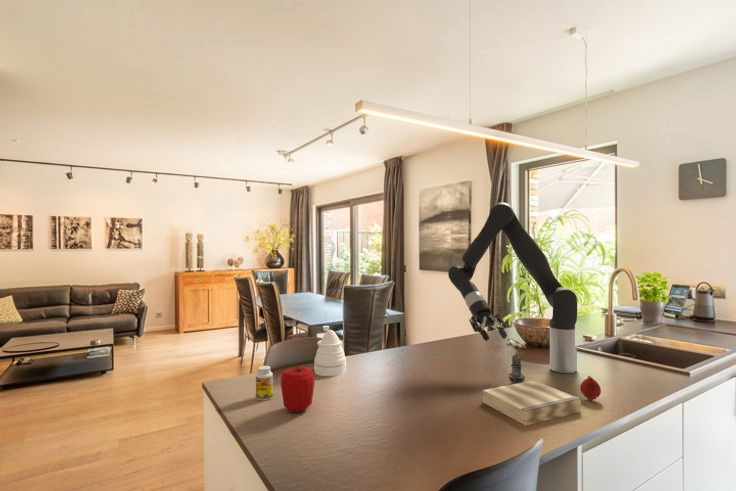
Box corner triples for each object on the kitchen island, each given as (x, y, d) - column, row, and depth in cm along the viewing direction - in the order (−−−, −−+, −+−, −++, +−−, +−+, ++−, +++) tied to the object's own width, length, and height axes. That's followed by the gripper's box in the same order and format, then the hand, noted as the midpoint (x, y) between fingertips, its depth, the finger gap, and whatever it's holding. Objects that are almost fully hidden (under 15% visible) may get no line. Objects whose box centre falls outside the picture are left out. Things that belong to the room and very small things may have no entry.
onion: (598, 398, 130) (598, 374, 130) (602, 404, 125) (602, 379, 125) (578, 396, 132) (578, 372, 132) (582, 402, 127) (582, 377, 127)
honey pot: (308, 374, 157) (308, 328, 157) (323, 364, 169) (323, 322, 169) (337, 377, 152) (337, 331, 152) (351, 368, 164) (351, 324, 164)
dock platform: (533, 391, 136) (533, 379, 136) (580, 412, 120) (580, 398, 120) (482, 402, 127) (482, 389, 127) (525, 425, 111) (525, 410, 111)
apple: (298, 419, 115) (298, 373, 115) (273, 412, 121) (273, 367, 121) (321, 407, 124) (321, 364, 124) (297, 400, 130) (296, 359, 130)
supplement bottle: (252, 400, 130) (252, 369, 130) (261, 394, 136) (261, 364, 136) (267, 402, 129) (267, 370, 129) (276, 395, 134) (275, 365, 134)
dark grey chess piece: (526, 389, 139) (526, 355, 139) (509, 388, 140) (509, 354, 140) (523, 383, 145) (523, 350, 145) (506, 382, 146) (506, 350, 146)
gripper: (466, 300, 157) (486, 335, 146) (495, 298, 163) (516, 331, 152) (458, 311, 162) (477, 346, 151) (486, 309, 167) (506, 342, 157)
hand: (496, 338), depth 152 cm, fingers open, 8 cm apart
